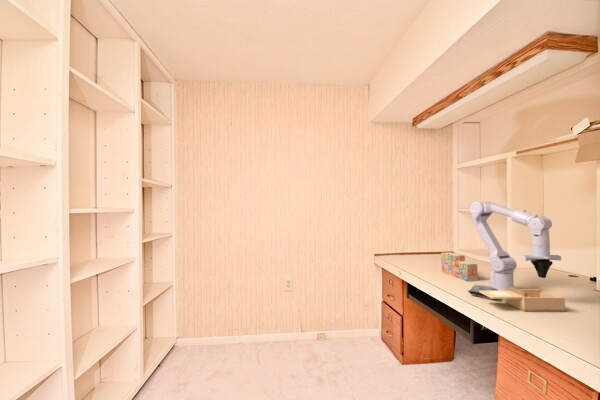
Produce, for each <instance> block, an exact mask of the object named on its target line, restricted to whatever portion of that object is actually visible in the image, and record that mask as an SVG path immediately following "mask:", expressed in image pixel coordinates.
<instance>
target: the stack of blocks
mask: <svg viewBox="0 0 600 400" xmlns="http://www.w3.org/2000/svg"><path fill="white" fill-rule="evenodd" d="M440 256H441V272H442V273H444V274H445V275H449V276H451V277H455V278H458V279H461V280H463V281H466V282H478V264H477V263H474V262H471V261H468V260H466V258H465V257H466V256H465V254H464V255H463V254H460V253H455V252H450V251H449V252H447V251H446V252H440Z"/></svg>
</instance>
